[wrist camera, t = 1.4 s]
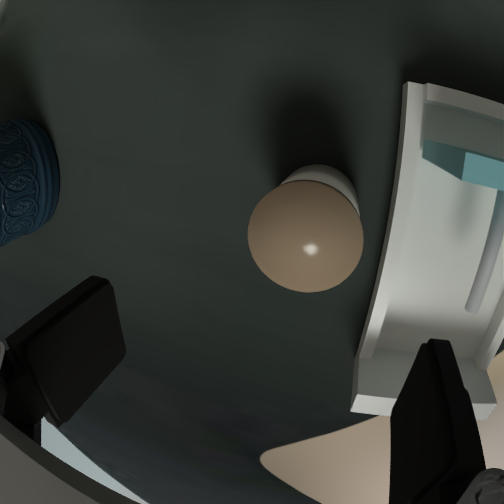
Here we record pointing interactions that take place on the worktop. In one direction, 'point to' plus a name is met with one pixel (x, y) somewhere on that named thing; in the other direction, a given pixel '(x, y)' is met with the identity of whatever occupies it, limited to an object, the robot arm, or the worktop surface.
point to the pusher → (482, 173)
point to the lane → (434, 255)
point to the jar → (308, 230)
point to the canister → (26, 179)
